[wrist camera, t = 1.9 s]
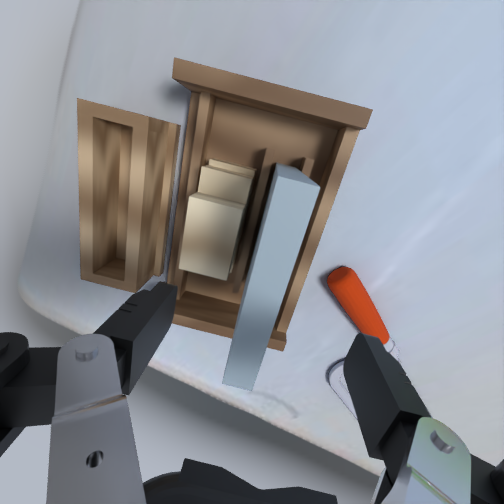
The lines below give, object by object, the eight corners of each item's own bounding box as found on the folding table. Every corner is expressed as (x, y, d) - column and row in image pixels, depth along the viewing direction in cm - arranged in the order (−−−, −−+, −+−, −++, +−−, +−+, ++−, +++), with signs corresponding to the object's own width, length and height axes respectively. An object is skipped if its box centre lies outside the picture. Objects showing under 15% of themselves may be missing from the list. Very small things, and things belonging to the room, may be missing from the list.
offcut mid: (208, 165, 22) (201, 166, 20) (253, 176, 22) (251, 179, 20) (194, 249, 25) (187, 258, 23) (234, 259, 25) (230, 269, 23)
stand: (108, 106, 24) (68, 95, 19) (180, 125, 24) (157, 119, 19) (105, 257, 30) (73, 277, 25) (163, 272, 30) (142, 294, 25)
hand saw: (465, 452, 35) (393, 471, 37) (450, 428, 37) (385, 447, 40) (356, 274, 25) (271, 317, 28) (347, 260, 28) (271, 301, 31)
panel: (276, 162, 23) (277, 176, 10) (295, 167, 23) (320, 187, 10) (246, 275, 28) (221, 383, 15) (262, 279, 28) (251, 391, 15)
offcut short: (197, 191, 21) (189, 196, 19) (245, 204, 21) (242, 209, 19) (187, 258, 23) (178, 268, 21) (230, 269, 23) (226, 280, 21)
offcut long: (215, 158, 24) (209, 158, 22) (257, 169, 24) (255, 170, 22) (198, 254, 27) (192, 262, 25) (234, 263, 28) (231, 272, 25)
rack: (197, 79, 23) (174, 57, 17) (350, 119, 23) (372, 109, 18) (169, 289, 31) (147, 317, 26) (281, 317, 31) (283, 351, 26)
